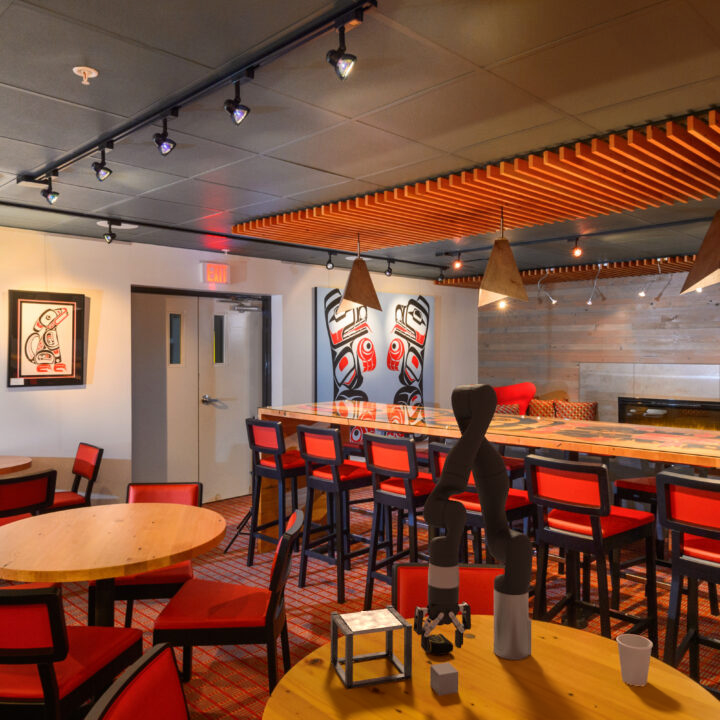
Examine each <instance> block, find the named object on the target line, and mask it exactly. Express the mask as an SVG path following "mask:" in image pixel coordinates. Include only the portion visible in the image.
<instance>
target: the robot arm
mask: <svg viewBox="0 0 720 720" xmlns="http://www.w3.org/2000/svg"><path fill="white" fill-rule="evenodd" d="M450 399H451V401H450V403H451V409H452V412H453V414H454V418H455V421H456V423H457V426H458V429H459V432H460V435H461V436H460V437H459V438H458V440H457V441H456V442H455V443H454V444H453V446H451V448H450V450H449V451H448V452H447V455H446V457H445V459H444V463H443V466H442V469H441V473H440V476H439V479H438V481H437V482H436V484H435V487H434V488H433V489H432V490H431V493H430V494H429V496H428V497H427V499H426V501H425V503H424V506H423V511H422V515H423V516H422V517H423V520H424V522H425V524H426V525H428V526H429V527H433V528H437V529H443V530H444V529H445V530H447V533H446V535H445V536H443V535H442V536H436V537H433V538H432V539H431V540H430V543H429V559H428V560H429V564H428V568H427V569H428V571H427V605H426V607H419V606H415V608H414V618H413V627H412V631H414V632H415V633H416V634H417V635H418V636H420V646H421V649H422V650H423V651H424V652H425V653H430V652H429V635H431V633H432V631H433V630H435V629H436V627H437V626H441V627H442V626H443V625H447V626H449V625H451V624H453V626H454V628H455V630H454V646H455V647H456V648H457V649H461V648H462V646H464V633H465V632H466V631H467V630H471V629H472V616H471V615H472V612H471V605H469V604H468V603H467V602H466V601H462V602H461V603H460V604H459V600H460V568H459V558H460V557H459V555H460V554H459V553H460V551H459V550H460V545H461V544H460V543H461V540H462V535H463V532H464V529H465V526H466V523H467V518H468V517H467V516H468V513H467V512H468V511H467V508H466V507H465V505H464V503H463V502H461V501H459V500H454V499H449V498H450V497H452V496H455V495H462V494H464V493H465V492H466V490H467V489H468V484H469V481H470V478H471V474H472V478H473V482H474V486H475V489H476V492H477V497H478V499H479V503H480V509H481V514H482V518H483V522H484V523H483V524H484V529H485V531H484V532H485V537H486V544H487V547H488V551H489V555H491V557H492V558H494V559H495V560H496V561H497V562H500V563H502V564H504V573H503V574H499V575H496V576H495V577H494V580H493V652H494V654H495V655H496V656H498V657H500V658H502V659H505V660H506V659H507V660H512V661H513V660H514V661H517V660H518V661H519V660H523V659H524V660H525V659H526V658H527V657H528V656H531V655H532V619H531V617H529V586H530V583H531V580H532V573H533V572H532V570H533V555H534V554H533V552H534V551H533V543H532V540H531V538H530V537H529V536H528V535H526V534H525V533H522V532H520V531H517V530H513V529H512V528H511V527H510V525H509V522H508V518H507V513H506V503H507V499H508V496H509V493H510V488H511V486H510V477H509V473H508V470H507V465H506V463H505V460H504V458H503V457H502V455H501V453H500V452H499V451H498V450H497V448H496V447H495V446H494V445H493V444H492V443H491V441H489V440H488V438H487V437H486V434H487V432H488V429H489V427H490V425H491V423H492V421H493V418H494V416H495V413H496V410H497V405H498V395H497V392H496V390H495V388H494V387H493V386H492V385H490V384H488V383H477V384H476V383H474V384H473V383H472V384H464V385H458V386H456V387H455V388H453V390H452V392H451V397H450ZM459 612H461V621H462V622H460V621H459V619H458V618H457V615H458V613H459ZM426 614H427V615H428V616H427V617H426ZM425 617H426V619H425V620H424V618H425ZM423 623H424V624H423Z"/></svg>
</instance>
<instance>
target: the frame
mask: <svg viewBox="0 0 720 720" xmlns="http://www.w3.org/2000/svg"><path fill="white" fill-rule="evenodd" d="M385 609H388V610H389V611H390V612H391V613H392V614H393V615H394V617H395V618H396V619H397V620H398V621H399V622H400V623H401V624H402V625H403V663H402V662H401V661H400V659H399V658H398V657H397V656H396V655H395V653H394V650H393V649H394V630H390V631H385V651H378V652H371V653H365V654H357V655H354V635H353V633H352V631H350V629H349V628H348V627H347V625H346V624H345V623H344V622H343V620H342V619H341V618H340V616H339V613H338V612H337V611H335V610H334V611H330V664H331V663H332V664H331V666H332V665H333V666H332V667H333V669H334V668H335V669H334V671H335V672H336V673H338V674H337V675H338V677H339V678H341V679H340V680H341V682H342V683H343V685H344V686H345V688H346V689H347V690H349V689H355V688H361V687H362V688H363V687H368V686H373V685H374V686H375V685H381V684H387V683H393V682H398V681H404V680H405V681H406V680H412V678H413V677H412V676H413V625H412V624H411V623H409V621H408V620H406V619H405V617H404V616H402V615H401V614H400V613H399V611H397V610H396V609H395V608H394V606H393V605H392V604H387V605H385ZM339 630H340V631H341V633H342V634H343V635H344V637H345V638H344V639H345V641H344V642H345V645H344V646H345V649H344V650H345V652H344V657H339V656H338V655H339V654H338V652H339V649H338V648H339V643H338V642H339ZM381 658H388V659H389V660H390V661H391V662H392V664H393V665H394V667H396V669H397V670H398V671H399V674H398V673H397V674H392V675H387V676H379V677H373V678H367V679H361V680H355V681H354V662H353V661H355V662H360V661H359V660H362V661H368V660H367V659H369V660H375V659H381ZM344 662H345V663H344ZM339 663H342V664H344V668H343V667H342V666H341V664H339Z"/></svg>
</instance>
